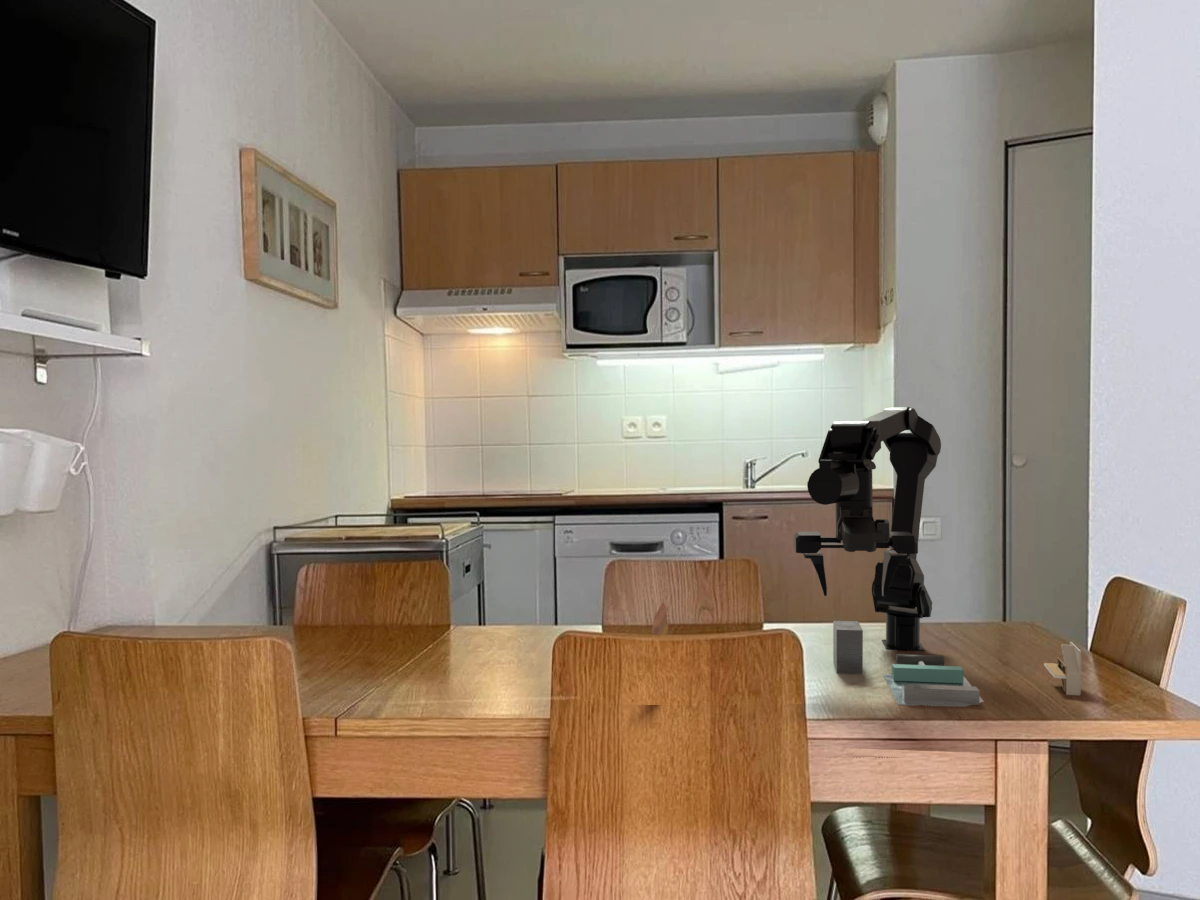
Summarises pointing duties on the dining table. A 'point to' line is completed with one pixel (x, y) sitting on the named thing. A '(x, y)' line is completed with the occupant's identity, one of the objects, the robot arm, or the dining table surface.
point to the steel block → (848, 647)
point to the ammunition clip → (660, 621)
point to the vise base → (899, 690)
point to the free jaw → (925, 669)
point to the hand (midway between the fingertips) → (854, 595)
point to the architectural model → (1068, 669)
